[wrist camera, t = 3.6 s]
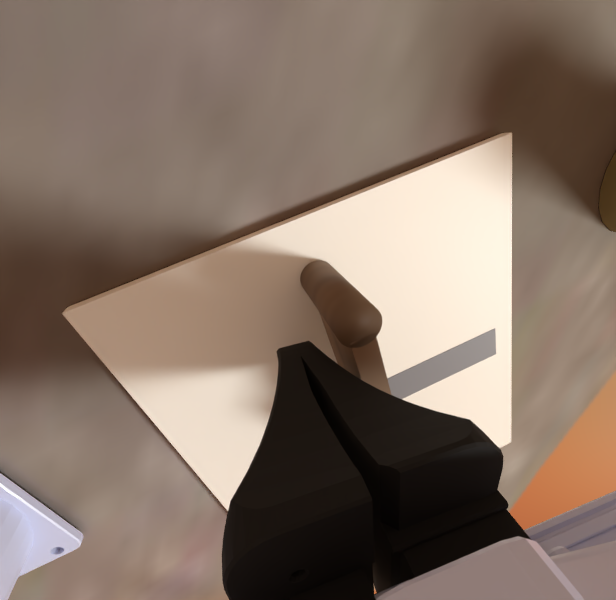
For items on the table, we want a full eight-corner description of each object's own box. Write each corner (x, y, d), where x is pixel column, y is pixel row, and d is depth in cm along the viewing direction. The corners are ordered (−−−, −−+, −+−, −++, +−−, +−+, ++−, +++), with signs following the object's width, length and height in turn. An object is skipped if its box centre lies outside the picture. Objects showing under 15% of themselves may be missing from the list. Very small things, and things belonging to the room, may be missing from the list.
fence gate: (342, 396, 15) (381, 468, 12) (295, 268, 12) (330, 316, 8) (368, 384, 15) (414, 451, 12) (328, 254, 12) (376, 295, 9)
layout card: (271, 555, 20) (272, 564, 20) (67, 306, 11) (61, 313, 10) (505, 436, 22) (511, 442, 21) (501, 133, 13) (512, 132, 12)
